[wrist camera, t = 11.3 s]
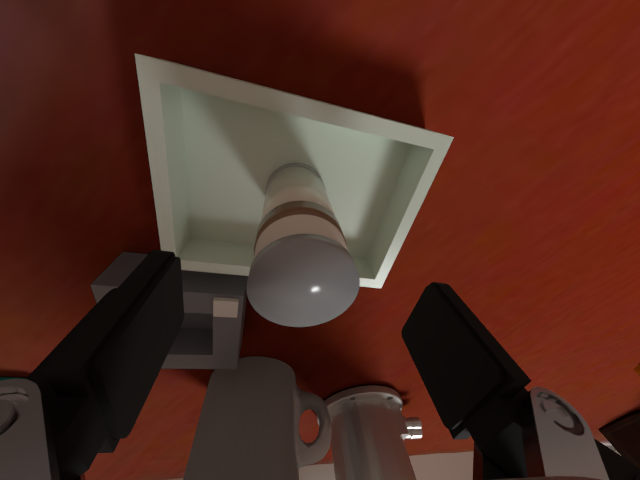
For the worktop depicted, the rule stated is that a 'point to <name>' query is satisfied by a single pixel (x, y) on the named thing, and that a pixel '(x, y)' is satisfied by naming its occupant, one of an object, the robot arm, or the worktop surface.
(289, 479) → the coffee mug
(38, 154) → the worktop surface
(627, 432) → the manual coffee grinder
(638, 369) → the element tile
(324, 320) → the cylinder
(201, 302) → the fuse holder
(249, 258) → the parts tray
